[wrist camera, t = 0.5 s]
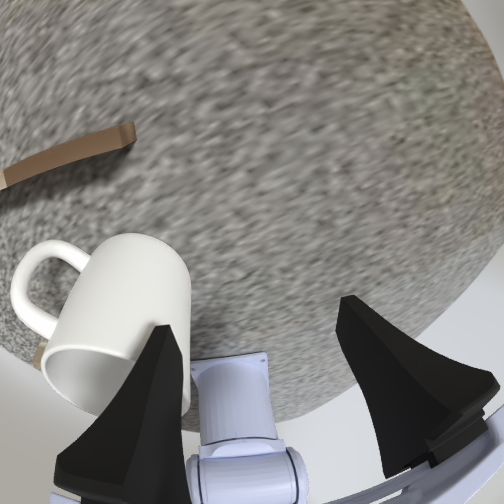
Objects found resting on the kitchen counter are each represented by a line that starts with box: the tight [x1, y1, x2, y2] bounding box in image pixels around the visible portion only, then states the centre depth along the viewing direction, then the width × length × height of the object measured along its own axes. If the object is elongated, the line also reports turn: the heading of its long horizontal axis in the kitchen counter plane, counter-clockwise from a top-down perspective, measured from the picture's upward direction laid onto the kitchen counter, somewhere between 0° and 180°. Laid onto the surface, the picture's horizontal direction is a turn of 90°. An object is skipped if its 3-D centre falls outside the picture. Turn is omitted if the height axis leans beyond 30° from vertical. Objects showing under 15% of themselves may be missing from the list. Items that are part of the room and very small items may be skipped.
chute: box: [0, 122, 191, 369], centre depth 17 cm, size 19×18×3 cm
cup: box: [11, 233, 191, 417], centre depth 15 cm, size 8×12×10 cm
